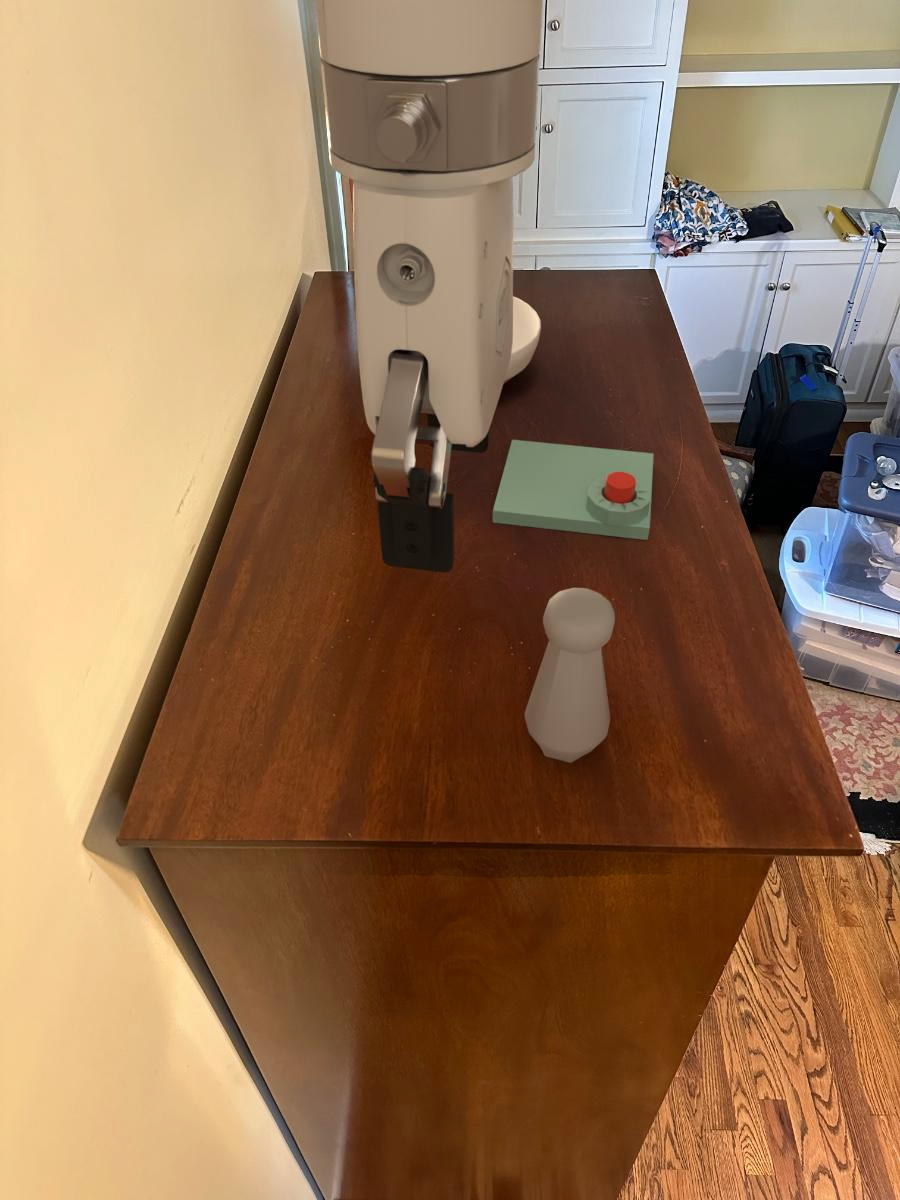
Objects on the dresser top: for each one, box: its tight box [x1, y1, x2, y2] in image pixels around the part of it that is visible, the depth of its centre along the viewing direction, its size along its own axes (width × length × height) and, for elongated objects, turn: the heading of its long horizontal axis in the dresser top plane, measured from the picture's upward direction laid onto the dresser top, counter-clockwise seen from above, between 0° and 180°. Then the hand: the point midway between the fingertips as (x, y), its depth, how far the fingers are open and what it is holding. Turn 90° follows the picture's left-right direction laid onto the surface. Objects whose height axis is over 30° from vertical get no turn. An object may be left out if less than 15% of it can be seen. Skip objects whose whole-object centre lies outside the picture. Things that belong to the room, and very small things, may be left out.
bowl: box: [503, 295, 542, 385], centre depth 97 cm, size 20×20×6 cm
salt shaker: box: [524, 587, 616, 764], centre depth 56 cm, size 6×6×13 cm
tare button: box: [604, 472, 636, 504], centre depth 76 cm, size 3×3×2 cm
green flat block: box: [492, 439, 654, 541], centre depth 81 cm, size 14×12×3 cm
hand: (440, 501), depth 42 cm, fingers open, 9 cm apart
